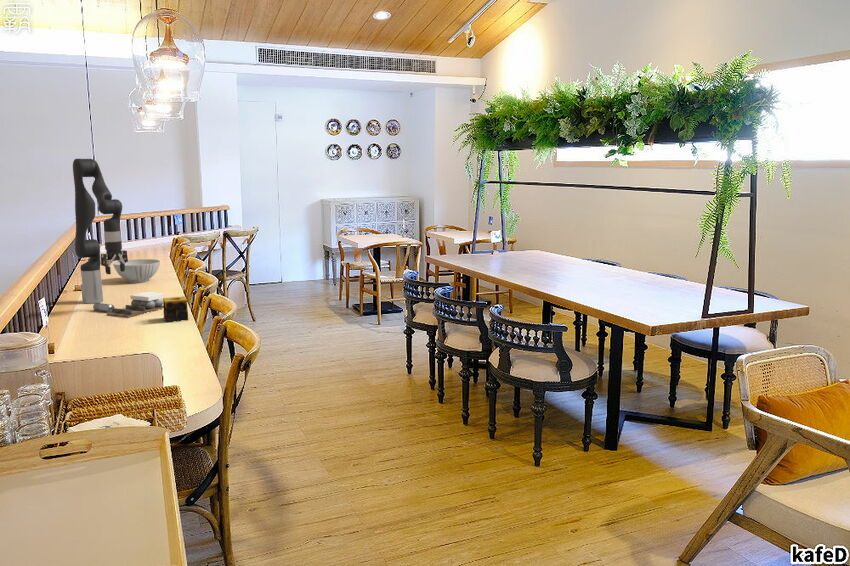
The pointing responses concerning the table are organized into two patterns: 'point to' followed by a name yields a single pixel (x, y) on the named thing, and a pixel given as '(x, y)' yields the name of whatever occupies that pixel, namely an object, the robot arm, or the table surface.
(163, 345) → the table surface
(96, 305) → the roller
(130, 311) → the roller bed
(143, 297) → the slab
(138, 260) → the decorative bowl
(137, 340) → the table surface
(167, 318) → the black and yellow cube
